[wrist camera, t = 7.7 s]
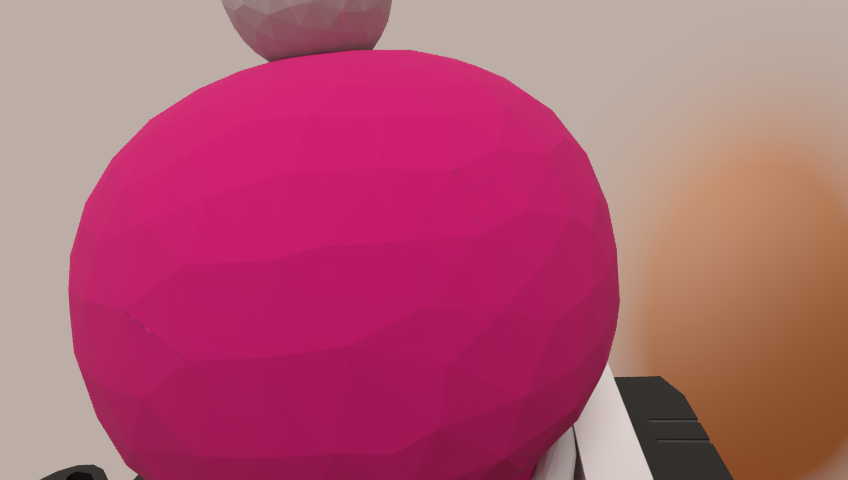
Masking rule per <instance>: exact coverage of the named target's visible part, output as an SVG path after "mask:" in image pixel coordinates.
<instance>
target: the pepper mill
mask: <svg viewBox="0 0 848 480" xmlns="http://www.w3.org/2000/svg"><path fill="white" fill-rule="evenodd" d="M391 2H392V0H222V3H223V5H224V8H225V10H226V12H227V14H228V16H229V18H230V20H231V22H232V24H233V26H234V28H235V29H236V31H237V32H238V33H239V35H240V36H241V38H242V39H243V40H244V42H245V43H246V44H247V45H249V46H250V47H251V48H252V49H253V50H254V51H255V52H256V53H257V54H259V55H260V56H262V57H263V58H265V59H266V60H267V61H269V63H266V64H262V65H259V66H256V67H253V68H249V69H246V70H242V71H239V72H237V73H234V74H232V75H230V76H228V77H225V78H223V79H221V80H218V81H216V82H214V83H211V84H209V85H207V86H205V87H202V88H200V89H198V90H196V91H194V92H193V93H191V94H190V95H188V96H187V97H185V98H184V99H182V100H180V101H179V102H177V103H176V104H174V105H173V106H171V107H169V108H168V109H166V110H165V111H163V112H162V113H160V114H158V115H157V116H155V117H154V118H152V119H151V120H150V121H149V122H148V123H147V124H146V125H145V126H144V127H143V128H142V129H141V130H140V131H139V132H138V133H137V134H136V135H135V136H134V137H133V138H132V139H131V140H130V141H129V142H128V143H127V144H126V145H125V146H124V147H123V148H122V149H121V150H120V151H119V152H118V153H117V154H116V155H115V157H114V158H113V159H112V160H111V162H110V163H109V165H108V167H107V168H106V170H105V172H104V173H103V175H102V177H101V178H100V180H99V182H98V183H97V185H96V187H95V188H94V190H93V191H92V193H91V195H90V196H89V198H88V200H87V202H86V203H85V207H84V210H83V213H82V217H81V220H80V223H79V227H78V230H77V234H76V237H75V241H74V244H73V248H72V251H71V255H70V271H69V289H68V290H69V307H70V318H71V327H72V337H73V347H74V354H75V357H76V359H77V362H78V365H79V368H80V371H81V373H82V376H83V379H84V382H85V385H86V387H87V390H88V393H89V396H90V399H91V401H92V404H93V407H94V410H95V413H96V415H97V418H98V419H99V421H100V423H101V424H102V426H103V428H104V429H105V431H106V432H107V434H108V436H109V437H110V439H111V441H112V442H113V444H114V446H115V447H116V449H117V450H118V452H119V454H120V455H121V457H122V459H123V460H124V462H125V464H126V465H127V466H128V467H129V468H131V469H132V470H133V471H135V472H136V473H137V474H139V475H140V476H141V477H142V478H144V479H145V480H575V479H574V469H575V462H576V447H575V438H574V430H573V427H572V425H573V424H574V423H575V422H576V421H577V420H578V419H579V417H580V415H581V413H582V411H583V410H584V408H585V406H586V404H587V402H588V400H589V399H590V397H591V395H592V393H593V391H594V389H595V388H596V386H597V384H598V382H599V380H600V378H601V376H602V374H603V372H604V369H605V367H606V365H607V361H608V357H609V353H610V350H611V346H612V342H613V338H614V335H615V331H616V326H617V319H618V311H619V303H620V298H619V282H618V267H617V266H618V265H617V249H616V244H615V239H614V234H613V229H612V224H611V219H610V214H609V209H608V204H607V202H606V199H605V197H604V194H603V192H602V190H601V187H600V185H599V182H598V180H597V178H596V175H595V173H594V170H593V168H592V166H591V164H590V161H589V158H588V156H587V154H586V153H585V151H584V150H583V149H582V148H581V146H580V145H579V144H578V142H577V141H576V140H575V139H574V137H573V136H572V135H571V134H570V132H569V131H568V130H567V128H566V127H565V126H564V125H563V123H562V122H561V121H560V120H559V118H558V117H557V116H556V115H555V113H554V112H553V111H552V110H551V109H549V108H548V107H546V106H545V105H544V104H542V103H540V102H539V101H538V100H536V99H534V98H533V97H532V96H530V95H529V94H527V93H526V92H525V91H523V90H522V89H520V88H519V87H517V86H516V85H514V84H513V83H511V82H510V81H508V80H507V79H505V78H504V77H501V76H498V75H496V74H494V73H491V72H489V71H487V70H484V69H482V68H479V67H477V66H474V65H471V64H468V63H466V62H462V61H459V60H457V59H452V58H448V57H442V56H438V55H433V54H428V53H423V52H418V51H413V50H372V49H373V48H374V46H375V45H376V43H377V42H378V40H379V39H380V37H381V35H382V33H383V31H384V29H385V26H386V24H387V22H388V18H389V14H390V9H391Z"/></svg>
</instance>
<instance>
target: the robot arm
mask: <svg viewBox="0 0 848 480" xmlns="http://www.w3.org/2000/svg"><path fill="white" fill-rule="evenodd" d="M572 427H573V430H574V438H575V447H576V462H575V469H574V479H575V480H734V479H733V478H732V476H731V474H730V473H729V471H728V469H727V468H726V466H725V464H724V462H723V461H722V459H721V457H720V456H719V454H718V452H717V451H716V449H715V447H714V445H713V444H711V443H710V441H709V437H708V435H707V434H706V432H705V430H704V429H703V427H702V425H701V423H698V418H697V417H696V415H695V413H694V412H693V410H692V408H691V406H690V405H689V403H688V401H687V400H686V398H685V396H684V395H683V394H682V393H680V392H679V391H678V390H677V389H675V388H674V387H673V386H672V385H670V384H669V383H668V382H667V381H665V380H664V379H663V378H662V377H660V376H656V377H655V376H652V377H613V375H612V373H611V370H610V367H609V365H608V362H607V365H606V367H605V369H604V372H603V374H602V376H601V378H600V380H599V382H598V384H597V386H596V388H595V389H594V391H593V393H592V395H591V397H590V399H589V400H588V402H587V404H586V406H585V408H584V410H583V411H582V413H581V415H580V417H579V419H578V420H577V421H576V422H575V423H574V424H573V425H572ZM41 480H108V479H107V477H106V475H105V473H104V470H103V469H101V468H99V467H97V466H95V465H77V466H74V467H70V468H67V469H64V470H60V471H57V472H55V473H53V474H51V475H49V476H47V477H45V478H43V479H41ZM134 480H145V479H144V478H142V477H141V476H140V475H139V474H138V475H137V477H136V478H135V479H134Z"/></svg>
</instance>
